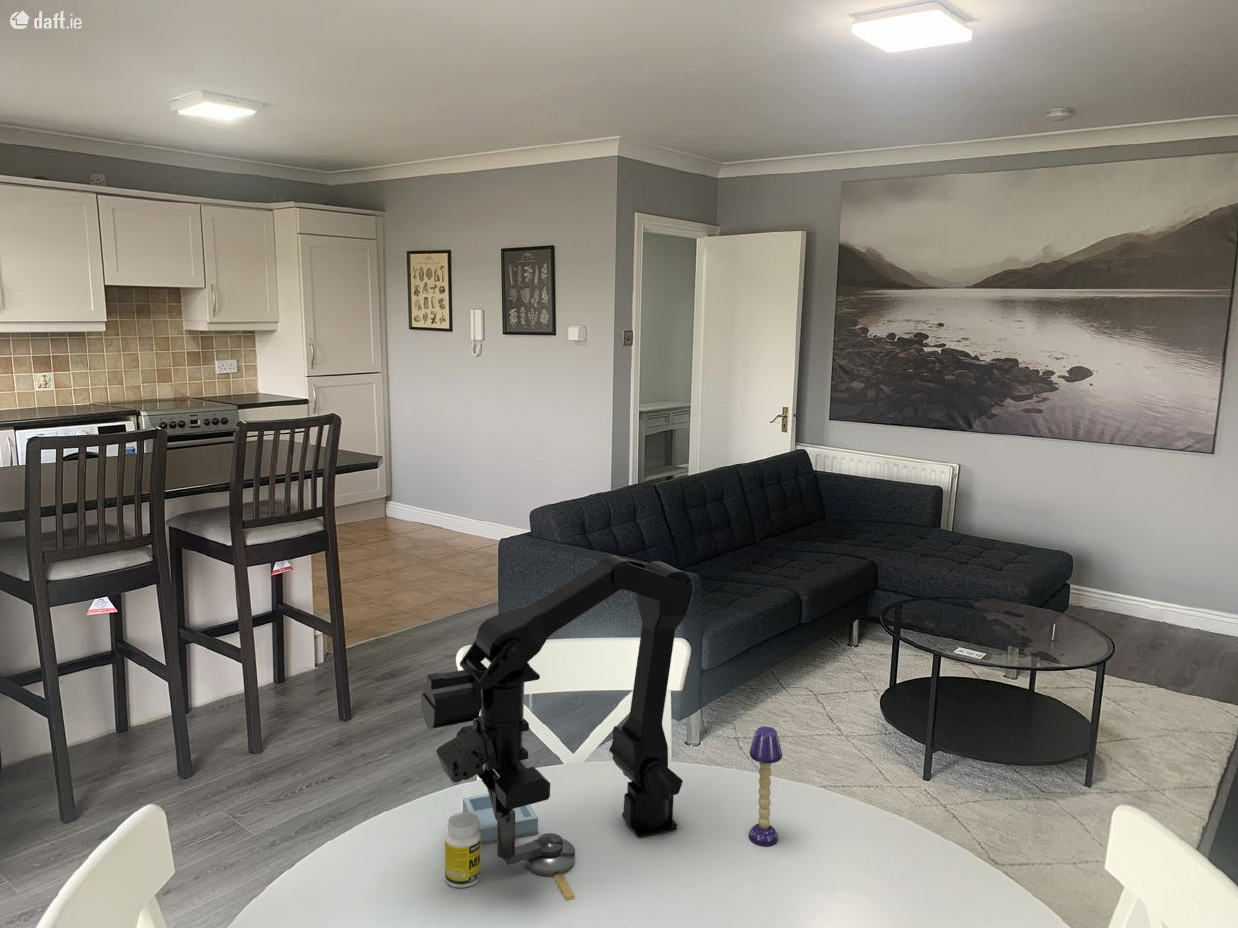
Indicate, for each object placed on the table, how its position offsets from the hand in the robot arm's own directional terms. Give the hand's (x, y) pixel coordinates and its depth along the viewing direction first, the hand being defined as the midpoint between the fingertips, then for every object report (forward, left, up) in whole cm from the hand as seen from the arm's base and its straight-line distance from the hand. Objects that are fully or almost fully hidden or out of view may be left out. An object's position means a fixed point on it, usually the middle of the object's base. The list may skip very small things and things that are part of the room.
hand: (499, 819), depth 123 cm
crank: (-4, +2, -5) cm, 6 cm away
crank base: (-7, +4, -7) cm, 10 cm away
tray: (-3, -10, -7) cm, 12 cm away
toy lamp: (-38, +7, -7) cm, 39 cm away
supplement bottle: (+5, +1, -7) cm, 9 cm away
